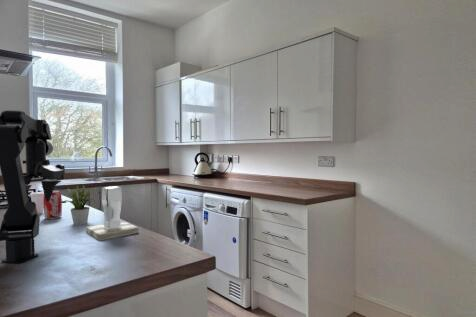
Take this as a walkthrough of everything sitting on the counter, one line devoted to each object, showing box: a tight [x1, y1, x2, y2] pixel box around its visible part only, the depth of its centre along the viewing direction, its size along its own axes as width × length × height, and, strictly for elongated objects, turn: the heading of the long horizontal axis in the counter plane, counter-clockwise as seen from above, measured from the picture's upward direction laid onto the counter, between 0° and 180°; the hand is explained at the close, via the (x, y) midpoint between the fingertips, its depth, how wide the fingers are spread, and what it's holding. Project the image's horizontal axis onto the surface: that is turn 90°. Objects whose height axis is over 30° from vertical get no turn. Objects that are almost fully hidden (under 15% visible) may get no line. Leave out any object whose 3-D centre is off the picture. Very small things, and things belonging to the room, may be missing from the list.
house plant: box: [63, 184, 98, 226], centre depth 132 cm, size 14×14×16 cm
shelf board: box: [85, 220, 139, 241], centre depth 119 cm, size 14×14×2 cm
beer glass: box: [101, 185, 123, 229], centre depth 118 cm, size 7×7×15 cm
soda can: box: [43, 189, 63, 220], centre depth 143 cm, size 7×7×12 cm
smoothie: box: [29, 183, 44, 215], centre depth 154 cm, size 6×6×14 cm
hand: (37, 203), depth 107 cm, fingers open, 9 cm apart
